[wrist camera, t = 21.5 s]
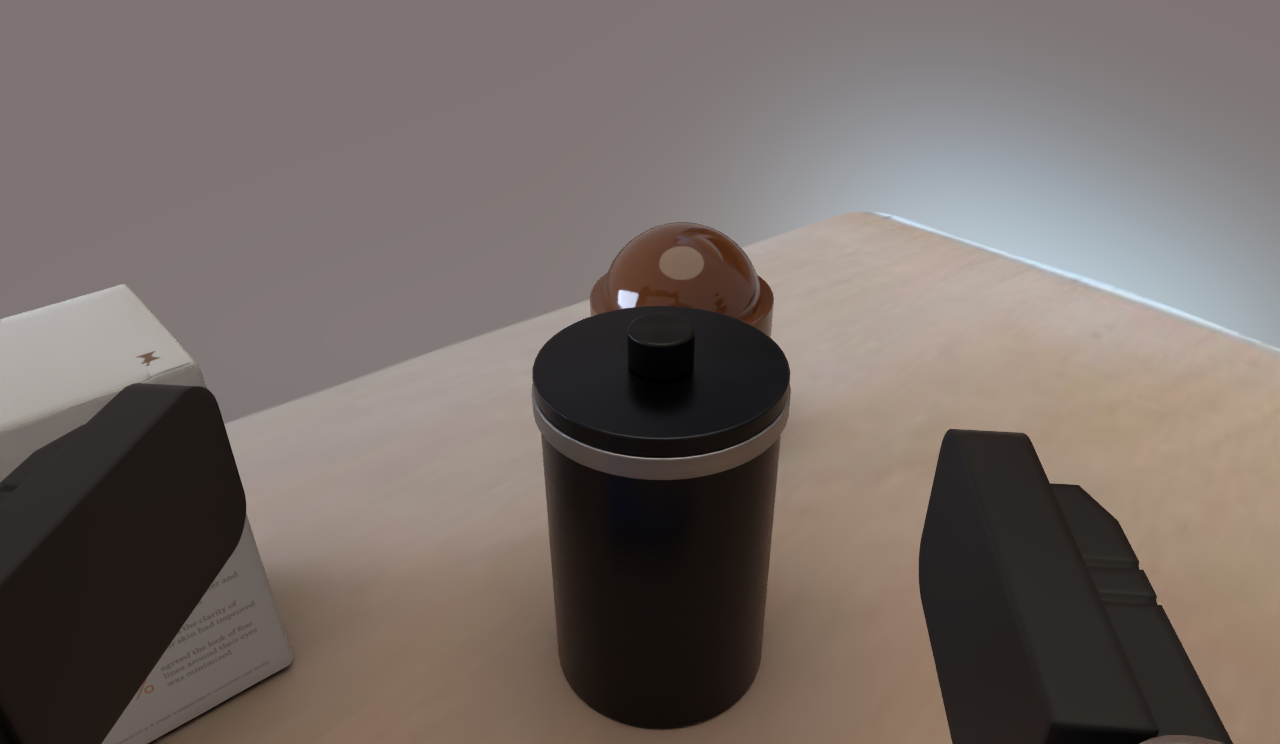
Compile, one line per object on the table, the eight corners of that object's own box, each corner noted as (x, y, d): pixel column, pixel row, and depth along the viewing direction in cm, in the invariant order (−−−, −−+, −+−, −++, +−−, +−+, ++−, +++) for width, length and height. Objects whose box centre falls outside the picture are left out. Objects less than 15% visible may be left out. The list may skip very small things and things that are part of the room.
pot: (533, 724, 25) (499, 392, 19) (573, 561, 30) (554, 266, 24) (767, 744, 24) (802, 408, 19) (765, 575, 29) (791, 275, 24)
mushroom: (584, 483, 34) (573, 265, 29) (607, 387, 39) (601, 192, 35) (764, 493, 33) (782, 273, 28) (761, 394, 39) (776, 197, 34)
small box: (229, 566, 30) (133, 276, 25) (299, 668, 26) (205, 355, 21) (-57, 698, 26) (-254, 381, 20) (-21, 843, 22) (-248, 505, 16)
